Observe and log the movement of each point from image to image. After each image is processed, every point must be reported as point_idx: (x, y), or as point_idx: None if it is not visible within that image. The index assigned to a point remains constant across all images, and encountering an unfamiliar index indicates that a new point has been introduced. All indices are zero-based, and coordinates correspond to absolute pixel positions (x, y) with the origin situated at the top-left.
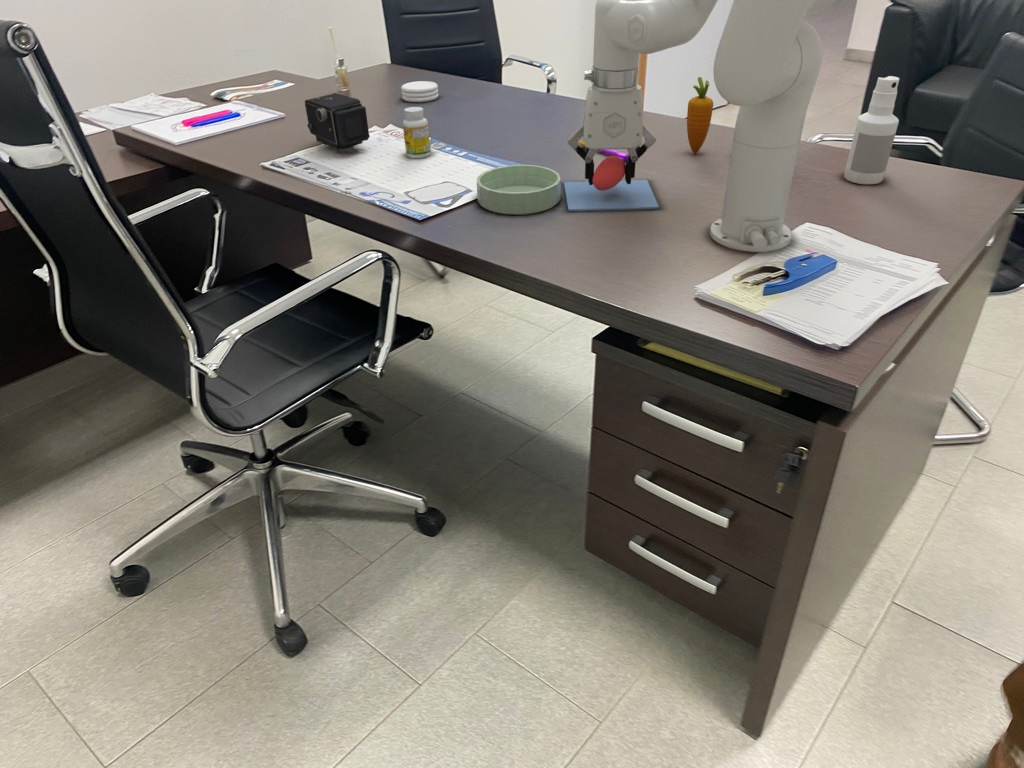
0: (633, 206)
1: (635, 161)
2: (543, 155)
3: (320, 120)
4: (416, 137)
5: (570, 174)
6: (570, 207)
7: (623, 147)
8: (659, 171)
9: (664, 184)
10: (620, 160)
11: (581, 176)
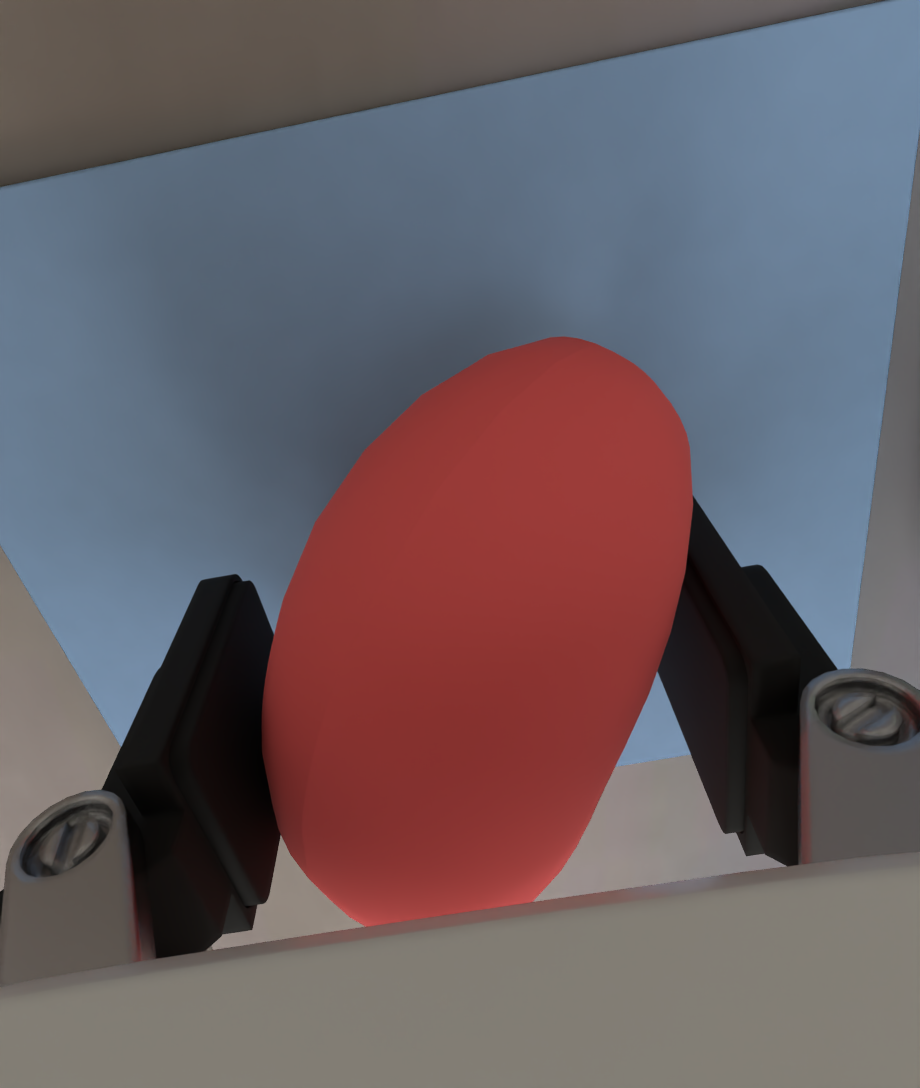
0: (118, 201)
1: (67, 806)
2: None
3: None
4: None
5: (757, 869)
6: (899, 67)
7: (149, 980)
8: None
9: (28, 799)
10: (319, 822)
11: (680, 850)
